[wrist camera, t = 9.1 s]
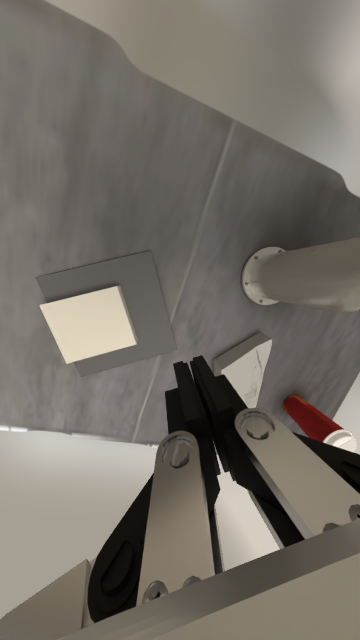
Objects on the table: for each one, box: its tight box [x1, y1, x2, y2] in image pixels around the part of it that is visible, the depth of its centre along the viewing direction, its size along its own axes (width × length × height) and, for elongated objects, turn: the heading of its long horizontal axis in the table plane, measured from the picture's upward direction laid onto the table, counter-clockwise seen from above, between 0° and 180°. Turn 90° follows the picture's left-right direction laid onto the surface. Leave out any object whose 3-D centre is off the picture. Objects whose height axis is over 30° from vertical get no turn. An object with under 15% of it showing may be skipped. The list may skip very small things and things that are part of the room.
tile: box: [39, 285, 138, 363], centre depth 34 cm, size 3×12×14 cm
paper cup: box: [283, 395, 357, 452], centre depth 43 cm, size 8×8×14 cm
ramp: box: [214, 332, 272, 408], centre depth 43 cm, size 28×16×5 cm, turn 160°
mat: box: [36, 251, 177, 377], centre depth 36 cm, size 22×22×1 cm
